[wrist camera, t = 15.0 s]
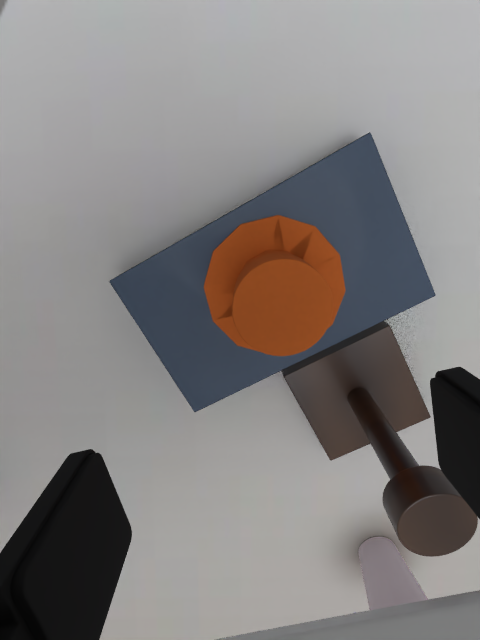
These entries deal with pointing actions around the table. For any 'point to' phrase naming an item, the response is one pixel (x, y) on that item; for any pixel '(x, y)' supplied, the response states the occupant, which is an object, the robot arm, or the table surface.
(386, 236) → the low stand
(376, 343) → the hat stand
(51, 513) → the robot arm
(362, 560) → the smoothie
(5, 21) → the table surface
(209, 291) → the hat
